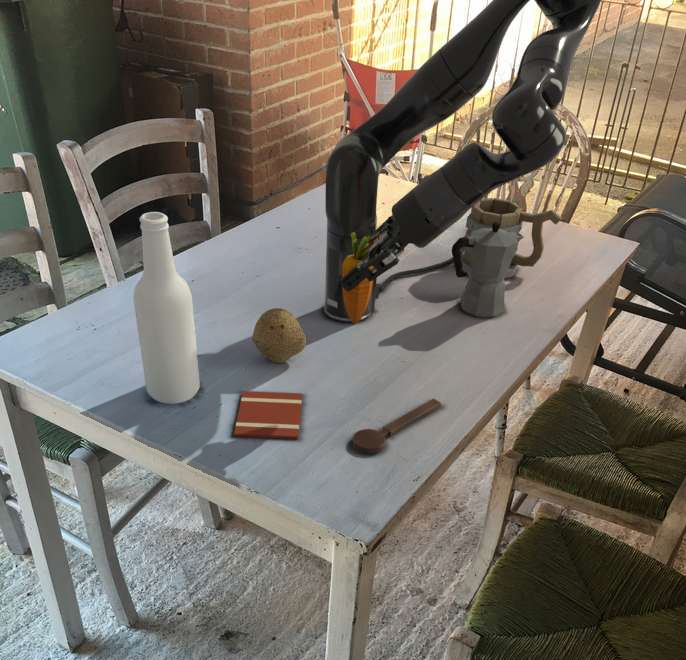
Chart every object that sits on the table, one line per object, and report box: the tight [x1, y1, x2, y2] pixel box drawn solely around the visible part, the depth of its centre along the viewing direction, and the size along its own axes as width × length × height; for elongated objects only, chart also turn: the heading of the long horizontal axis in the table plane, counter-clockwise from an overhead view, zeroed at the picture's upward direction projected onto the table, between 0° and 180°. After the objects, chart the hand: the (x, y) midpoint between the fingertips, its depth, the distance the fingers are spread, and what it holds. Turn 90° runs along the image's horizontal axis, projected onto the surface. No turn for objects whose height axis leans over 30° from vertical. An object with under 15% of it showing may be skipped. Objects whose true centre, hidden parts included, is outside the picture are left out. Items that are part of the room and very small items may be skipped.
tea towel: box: [233, 390, 303, 440], centre depth 123 cm, size 10×12×1 cm
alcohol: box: [132, 211, 201, 405], centre depth 118 cm, size 9×9×30 cm
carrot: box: [342, 232, 373, 325], centre depth 117 cm, size 5×5×15 cm
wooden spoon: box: [352, 398, 442, 455], centre depth 122 cm, size 19×5×1 cm, turn 134°
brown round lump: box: [252, 307, 307, 364], centre depth 134 cm, size 9×9×10 cm
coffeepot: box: [451, 222, 525, 318], centre depth 150 cm, size 15×9×18 cm, turn 110°
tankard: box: [461, 197, 562, 279], centre depth 165 cm, size 20×13×15 cm, turn 68°
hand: (345, 278), depth 117 cm, fingers closed on carrot, 5 cm apart
